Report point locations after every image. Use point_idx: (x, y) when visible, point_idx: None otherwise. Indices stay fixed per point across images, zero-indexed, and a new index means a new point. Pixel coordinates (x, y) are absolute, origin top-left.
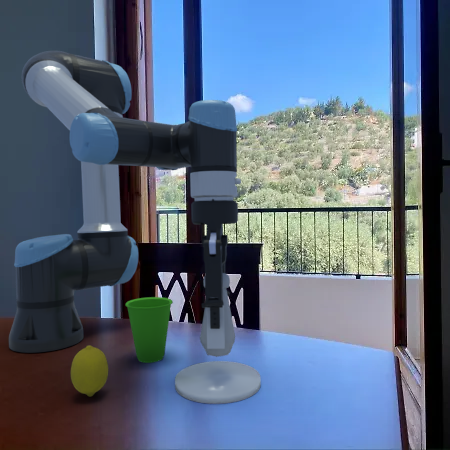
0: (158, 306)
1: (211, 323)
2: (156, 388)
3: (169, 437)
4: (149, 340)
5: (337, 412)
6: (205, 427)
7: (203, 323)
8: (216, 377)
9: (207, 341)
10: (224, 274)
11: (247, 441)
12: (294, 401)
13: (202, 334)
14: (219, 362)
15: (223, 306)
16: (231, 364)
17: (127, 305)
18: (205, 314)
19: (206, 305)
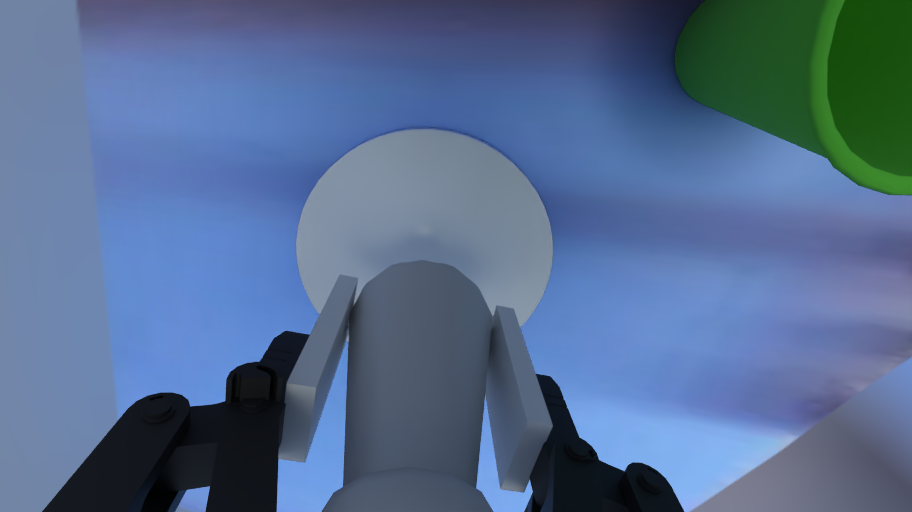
0: (817, 91)
1: (269, 350)
2: (435, 63)
3: (124, 89)
4: (715, 37)
5: None
6: (178, 187)
7: (403, 311)
8: (422, 257)
9: (333, 288)
10: None
11: (119, 267)
12: None
13: (397, 282)
14: (535, 283)
15: (289, 459)
16: None
17: None
18: (389, 346)
19: (150, 399)
